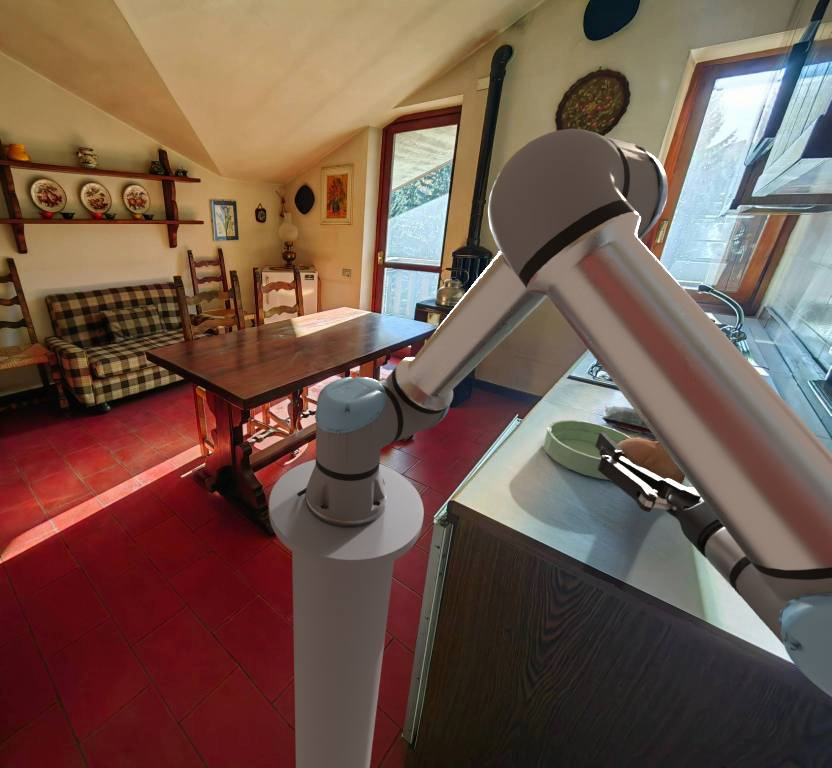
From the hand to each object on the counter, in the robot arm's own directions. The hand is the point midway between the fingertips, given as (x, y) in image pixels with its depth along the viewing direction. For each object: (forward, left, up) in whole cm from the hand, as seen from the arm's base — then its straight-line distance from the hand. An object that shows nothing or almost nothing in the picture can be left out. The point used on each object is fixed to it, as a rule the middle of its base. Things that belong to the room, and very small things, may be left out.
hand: (633, 442), depth 65 cm
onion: (-1, -4, -6) cm, 8 cm away
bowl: (+11, +18, -16) cm, 27 cm away
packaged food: (+33, +31, -16) cm, 48 cm away
